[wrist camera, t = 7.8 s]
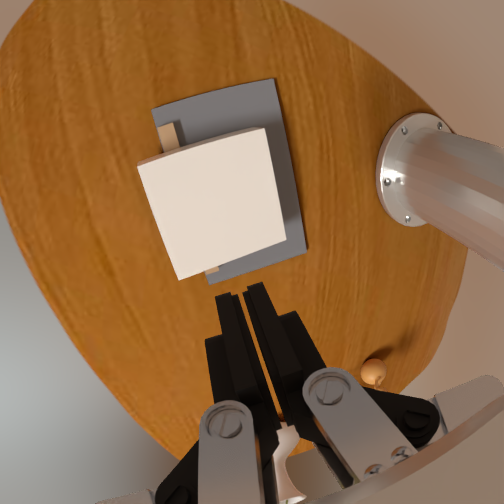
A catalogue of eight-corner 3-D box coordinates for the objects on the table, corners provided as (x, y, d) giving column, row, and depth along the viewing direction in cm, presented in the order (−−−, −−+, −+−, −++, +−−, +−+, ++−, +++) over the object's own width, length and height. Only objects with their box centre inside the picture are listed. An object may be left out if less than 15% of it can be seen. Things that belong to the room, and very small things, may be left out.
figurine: (379, 369, 43) (416, 422, 32) (347, 387, 42) (381, 444, 32) (376, 340, 39) (423, 400, 28) (340, 361, 38) (381, 426, 28)
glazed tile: (137, 161, 20) (251, 126, 22) (174, 264, 24) (273, 228, 26) (137, 166, 18) (264, 128, 20) (179, 280, 22) (286, 239, 24)
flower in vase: (306, 411, 43) (367, 539, 21) (286, 443, 47) (332, 552, 26) (227, 420, 39) (273, 572, 17) (218, 451, 43) (253, 574, 22)
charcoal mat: (271, 79, 21) (275, 77, 20) (305, 250, 28) (309, 255, 28) (151, 109, 20) (150, 109, 19) (208, 282, 27) (210, 288, 27)
